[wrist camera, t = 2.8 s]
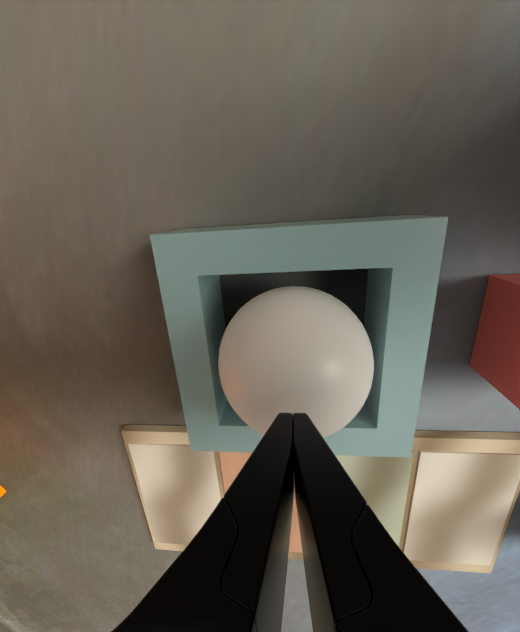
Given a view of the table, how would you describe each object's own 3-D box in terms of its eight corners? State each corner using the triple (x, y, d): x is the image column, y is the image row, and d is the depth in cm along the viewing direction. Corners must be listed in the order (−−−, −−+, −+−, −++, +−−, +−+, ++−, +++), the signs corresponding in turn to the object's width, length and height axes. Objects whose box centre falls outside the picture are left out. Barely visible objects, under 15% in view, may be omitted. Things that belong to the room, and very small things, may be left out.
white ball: (358, 268, 14) (410, 315, 8) (352, 382, 16) (388, 486, 10) (227, 274, 14) (184, 320, 9) (239, 382, 17) (210, 479, 11)
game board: (528, 432, 17) (538, 441, 16) (485, 563, 21) (491, 574, 20) (126, 424, 20) (120, 432, 19) (158, 540, 24) (155, 550, 23)
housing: (409, 214, 13) (448, 216, 10) (387, 409, 17) (411, 457, 14) (181, 228, 14) (149, 234, 11) (208, 407, 18) (190, 450, 15)
